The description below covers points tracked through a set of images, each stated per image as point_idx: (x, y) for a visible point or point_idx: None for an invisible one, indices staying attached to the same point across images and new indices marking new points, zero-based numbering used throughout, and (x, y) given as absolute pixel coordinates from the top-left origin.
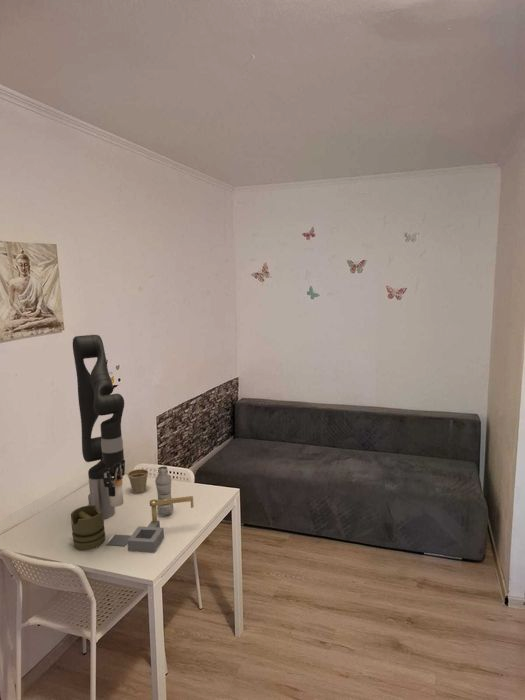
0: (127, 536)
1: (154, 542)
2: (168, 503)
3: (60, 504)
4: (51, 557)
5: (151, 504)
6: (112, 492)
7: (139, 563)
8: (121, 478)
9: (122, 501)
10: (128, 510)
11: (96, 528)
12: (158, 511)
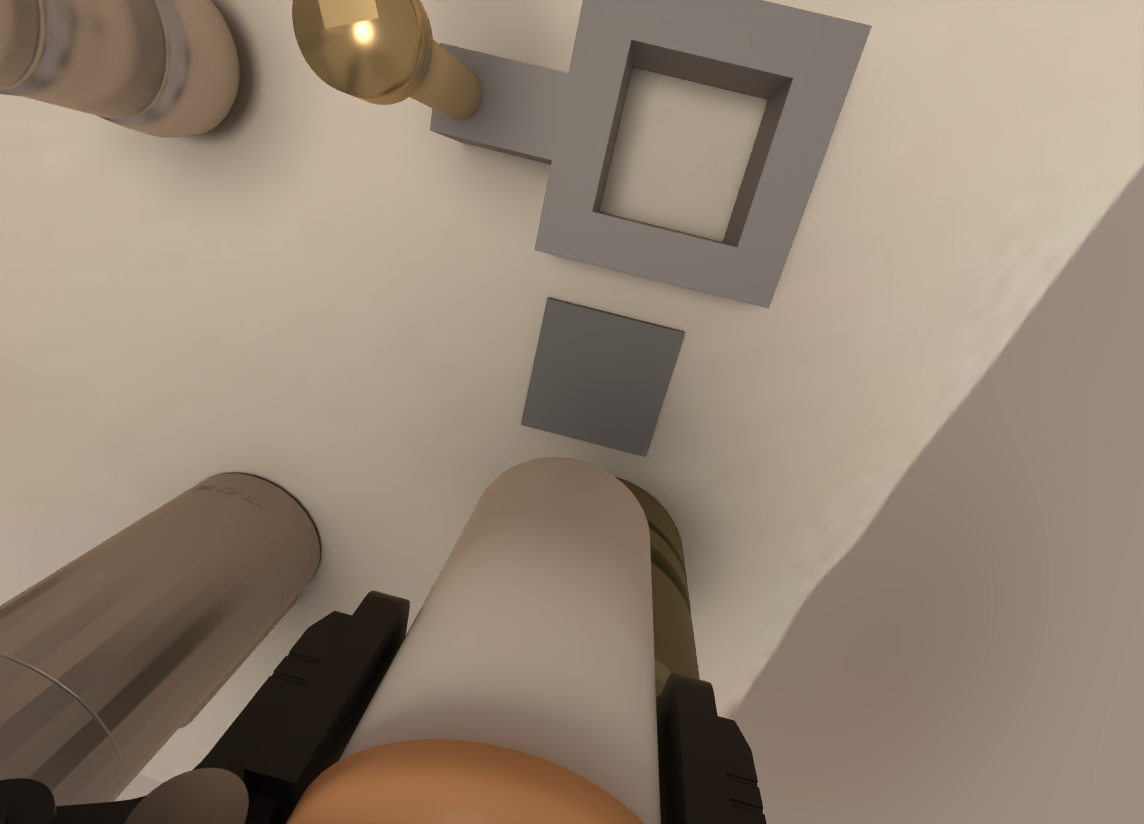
0: (557, 332)
1: (850, 26)
2: None
3: (174, 752)
4: (718, 705)
5: (419, 56)
6: (753, 793)
7: (966, 166)
8: (236, 821)
9: (583, 482)
10: (185, 389)
11: (661, 584)
12: (212, 117)
